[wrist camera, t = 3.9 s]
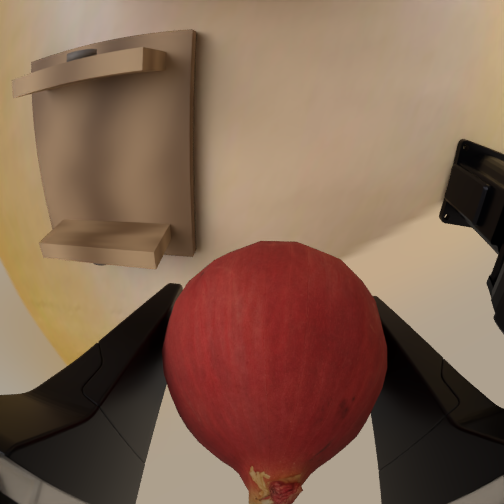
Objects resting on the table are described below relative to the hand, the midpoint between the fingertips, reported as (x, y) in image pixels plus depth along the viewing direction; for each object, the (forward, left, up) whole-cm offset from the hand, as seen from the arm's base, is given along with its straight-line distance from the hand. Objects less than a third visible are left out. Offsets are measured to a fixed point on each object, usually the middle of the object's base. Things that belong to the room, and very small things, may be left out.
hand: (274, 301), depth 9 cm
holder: (+11, -2, -11) cm, 16 cm away
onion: (0, 0, -2) cm, 2 cm away
